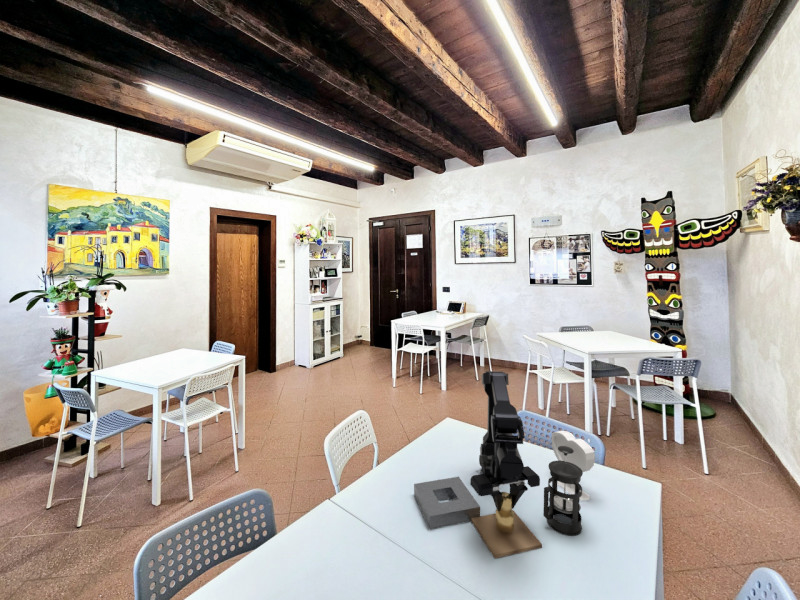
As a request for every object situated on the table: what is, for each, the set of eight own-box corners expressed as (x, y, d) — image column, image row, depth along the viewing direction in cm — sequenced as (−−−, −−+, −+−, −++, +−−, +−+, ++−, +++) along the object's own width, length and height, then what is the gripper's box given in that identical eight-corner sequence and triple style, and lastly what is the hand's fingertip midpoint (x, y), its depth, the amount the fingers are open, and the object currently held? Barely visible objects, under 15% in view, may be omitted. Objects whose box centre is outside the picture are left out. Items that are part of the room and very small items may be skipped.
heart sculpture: (548, 476, 125) (549, 428, 123) (560, 473, 126) (561, 426, 125) (583, 503, 110) (584, 449, 109) (595, 500, 111) (597, 446, 110)
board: (512, 512, 106) (512, 509, 106) (542, 547, 92) (542, 544, 92) (471, 521, 103) (471, 518, 103) (494, 558, 89) (494, 555, 89)
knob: (507, 518, 100) (508, 489, 100) (517, 530, 96) (518, 500, 95) (492, 521, 99) (492, 492, 99) (501, 534, 94) (501, 503, 94)
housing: (458, 487, 119) (458, 476, 119) (480, 519, 103) (480, 506, 103) (414, 495, 115) (414, 483, 115) (429, 529, 100) (429, 516, 99)
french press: (568, 510, 107) (570, 438, 105) (591, 532, 98) (594, 453, 96) (535, 516, 104) (536, 443, 102) (556, 540, 95) (557, 459, 93)
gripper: (518, 438, 106) (517, 486, 107) (462, 446, 101) (462, 497, 103) (541, 456, 95) (540, 510, 96) (479, 466, 91) (479, 523, 92)
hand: (504, 509), depth 97 cm, fingers closed on knob, 4 cm apart
